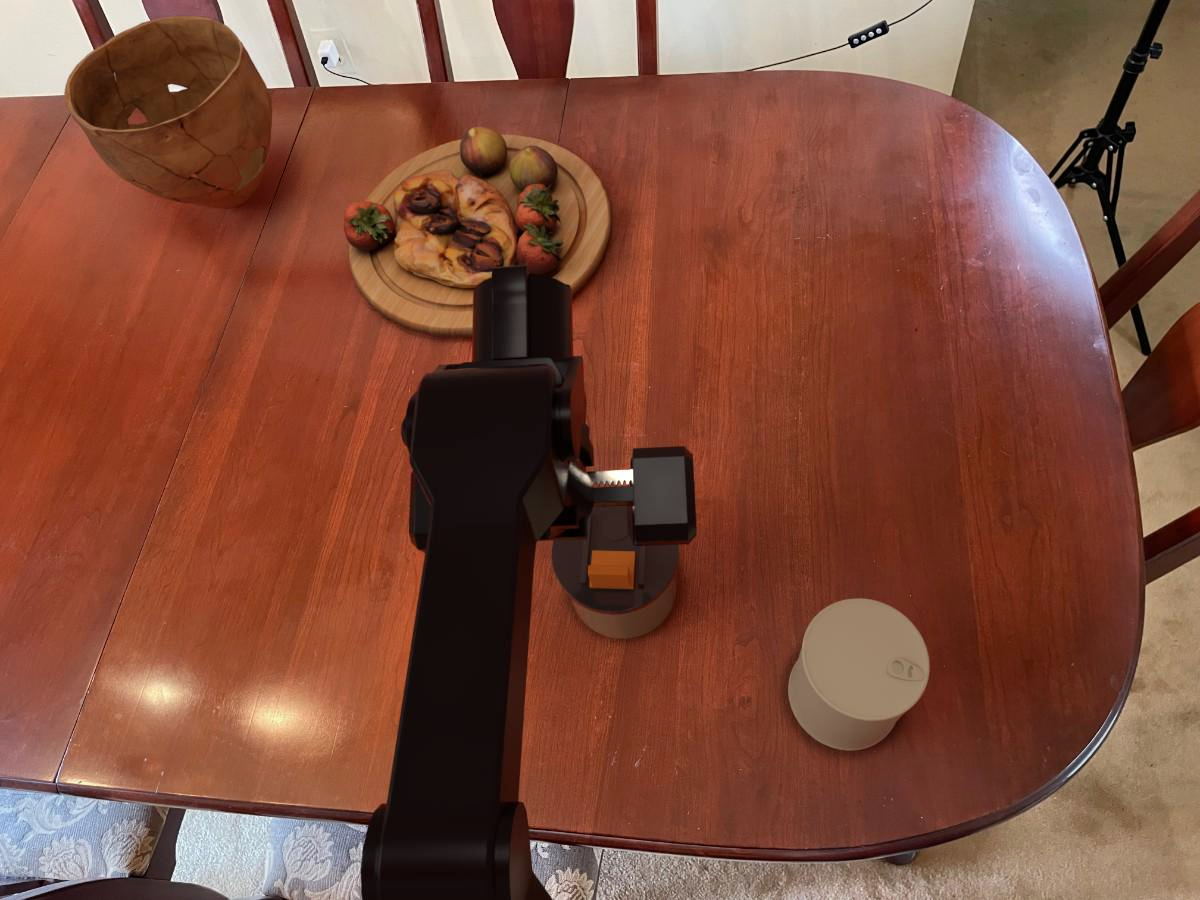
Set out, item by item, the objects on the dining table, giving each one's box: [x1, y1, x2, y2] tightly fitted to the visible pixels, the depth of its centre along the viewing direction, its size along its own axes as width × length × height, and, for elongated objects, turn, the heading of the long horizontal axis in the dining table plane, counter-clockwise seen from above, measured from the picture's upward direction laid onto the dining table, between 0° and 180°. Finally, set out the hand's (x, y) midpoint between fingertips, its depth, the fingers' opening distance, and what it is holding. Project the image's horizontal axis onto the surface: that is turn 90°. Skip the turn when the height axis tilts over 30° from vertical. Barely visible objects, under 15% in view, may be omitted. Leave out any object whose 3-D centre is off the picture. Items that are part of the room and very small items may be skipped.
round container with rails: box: [551, 506, 680, 640], centre depth 75 cm, size 11×11×9 cm
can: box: [787, 597, 931, 752], centre depth 67 cm, size 9×9×12 cm
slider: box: [588, 550, 635, 589], centre depth 69 cm, size 3×4×3 cm
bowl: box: [63, 15, 273, 210], centre depth 102 cm, size 21×20×20 cm
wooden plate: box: [343, 125, 613, 339], centre depth 99 cm, size 32×32×8 cm
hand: (570, 522), depth 64 cm, fingers open, 9 cm apart
